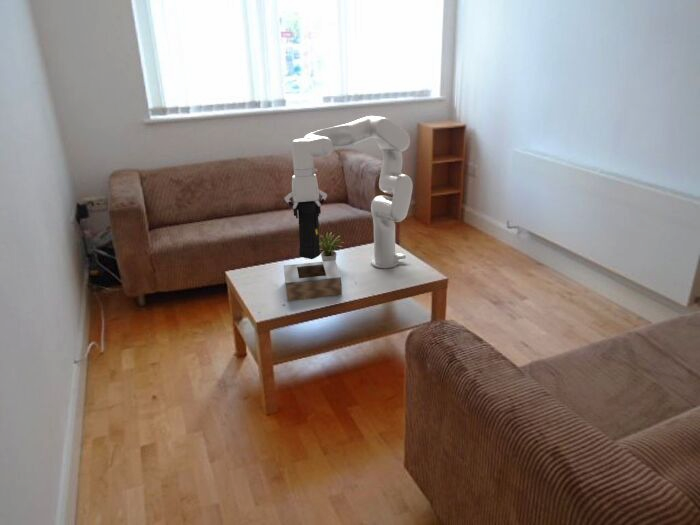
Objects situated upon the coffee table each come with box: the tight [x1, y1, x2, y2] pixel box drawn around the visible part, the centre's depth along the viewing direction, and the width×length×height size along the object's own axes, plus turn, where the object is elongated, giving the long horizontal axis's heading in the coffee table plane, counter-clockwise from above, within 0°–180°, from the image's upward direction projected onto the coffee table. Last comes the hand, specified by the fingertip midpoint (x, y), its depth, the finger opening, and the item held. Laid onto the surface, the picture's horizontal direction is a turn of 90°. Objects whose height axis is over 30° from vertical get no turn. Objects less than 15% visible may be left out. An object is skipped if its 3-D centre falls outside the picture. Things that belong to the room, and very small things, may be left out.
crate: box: [283, 260, 343, 302], centre depth 214 cm, size 22×18×8 cm
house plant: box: [319, 231, 346, 263], centre depth 233 cm, size 14×14×16 cm
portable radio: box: [296, 201, 321, 260], centre depth 205 cm, size 8×6×25 cm
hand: (307, 216), depth 204 cm, fingers closed on portable radio, 7 cm apart
